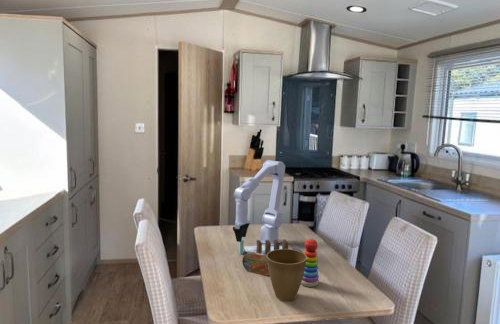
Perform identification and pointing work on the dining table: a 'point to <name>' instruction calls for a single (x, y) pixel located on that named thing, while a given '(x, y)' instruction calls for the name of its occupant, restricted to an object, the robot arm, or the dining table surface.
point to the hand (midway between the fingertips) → (241, 239)
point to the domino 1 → (241, 246)
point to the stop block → (296, 248)
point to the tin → (256, 263)
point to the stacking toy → (310, 264)
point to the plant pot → (286, 272)
